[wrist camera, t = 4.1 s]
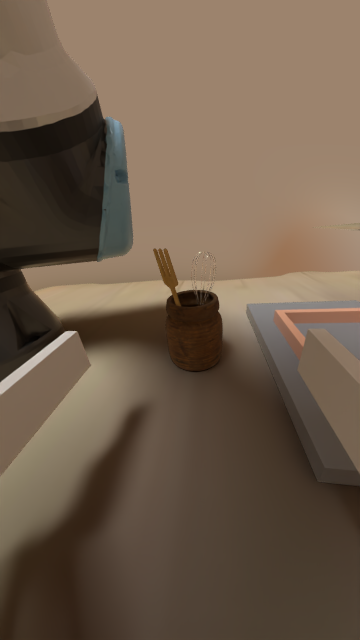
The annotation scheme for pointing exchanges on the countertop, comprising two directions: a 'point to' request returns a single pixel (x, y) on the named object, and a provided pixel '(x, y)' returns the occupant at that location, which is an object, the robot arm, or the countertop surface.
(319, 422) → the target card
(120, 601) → the countertop surface
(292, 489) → the countertop surface
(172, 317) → the utensil holder
